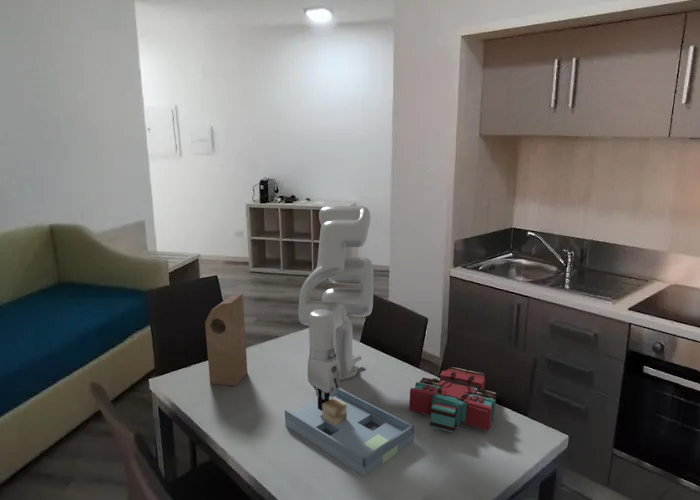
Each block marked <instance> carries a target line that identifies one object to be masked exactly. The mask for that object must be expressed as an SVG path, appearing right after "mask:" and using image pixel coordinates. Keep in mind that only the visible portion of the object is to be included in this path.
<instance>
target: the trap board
mask: <svg viewBox="0 0 700 500" xmlns="http://www.w3.org/2000/svg"><path fill="white" fill-rule="evenodd" d="M336 391H337V396H335V397H331V396H330V397H329V400H331V399H333V398H337V399H339V400H340V401H342V402H344V403H346V404H347V419H346V420H344V421H343V422H341V423H339V424H337V425H335V426H333V425H331V424H330V423H328V422H326V421H325V420H323V418H322V411H321V410H319V409H318V400H317V401H315V402H312V403H311V404H309V405H307V406H306V407H303V408H300V409H298V410H297V411H296V412H292V411H290V410H288V409H284V421H285V422H284V423H285V426H286V427H287V428H289V429H291V430H292V431H294V432H295V433H296V434H298V435H300V436H301V437H302V438H304V439H306V440H308V441H309V442H310V443H312V444H314V445H315V446H317V447H318V448H320V449H321V450H323V451H324V452H326V453H327V454H329V455H331V456H332V457H334V458H335V459H337V460H339V461H340V462H341V463H343V464H344V465H346V466H348V467H349V468H350V469H352V470H353V471H355V472H357V473H359V474H360V475H361V476H363V477H366V476H367V475H369V474H370V473H371V472H373V471H375V470H376V469H377V468H380V466H382V465H383V464H384V463H385V462H387V461H388V460H391V458H392V457H394V456H395V455H397V454H398V453H400V452H401V451H403V450H404V449H405V448H407V447H408V446H410V444H412V443H414V431H415V430H414V429H415V428H414V425H413V424H412V423H409V422H407V421H405V420H403V419H402V418H399V417H397V416H396V415H394V414H391V413H390V412H388V411H386V410H384V409H381V408H380V407H378V406H375V405H373V404H372V403H370V402H368V401H366V400H364V399H362V398H360V397H357V396H356V395H354V394H352V393H350V392H348V391H346V390H344V389H342V388H341V387H340V388H339V389H338V388H336Z"/></svg>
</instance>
